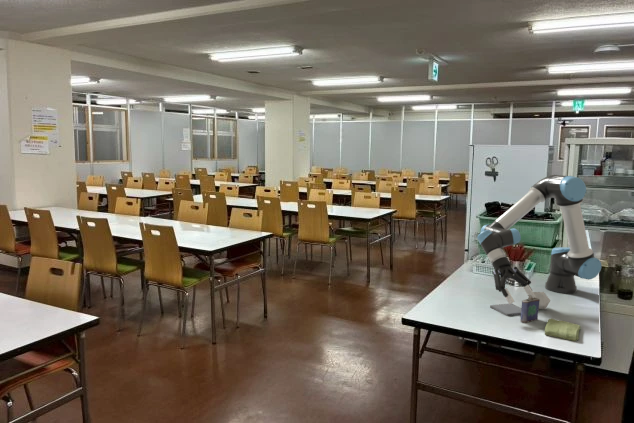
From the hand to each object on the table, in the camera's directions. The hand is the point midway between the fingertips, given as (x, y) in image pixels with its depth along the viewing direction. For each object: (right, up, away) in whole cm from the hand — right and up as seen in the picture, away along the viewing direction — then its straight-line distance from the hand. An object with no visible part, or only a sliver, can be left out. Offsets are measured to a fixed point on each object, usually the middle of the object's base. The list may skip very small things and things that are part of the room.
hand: (522, 300), depth 207 cm
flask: (+2, -9, -1) cm, 9 cm away
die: (+14, -7, +15) cm, 22 cm away
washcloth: (+10, -11, -13) cm, 20 cm away
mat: (-1, -7, +11) cm, 13 cm away
